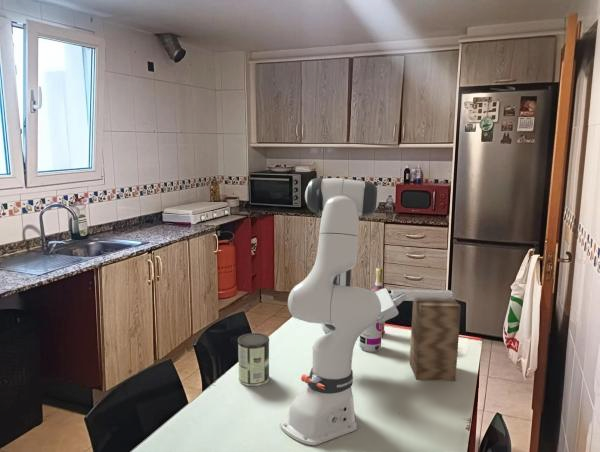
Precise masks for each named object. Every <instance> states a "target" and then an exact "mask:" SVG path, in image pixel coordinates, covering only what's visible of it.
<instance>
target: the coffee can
mask: <svg viewBox="0 0 600 452" xmlns="http://www.w3.org/2000/svg"><path fill="white" fill-rule="evenodd" d="M237 343H238V344H237V345H238V346H237V347H238V349H237V350H238V351H237V352H238V353H237V355H238V356H237V358H238V382H239V383H240V384H242V385H244V386H248V387H258V386H262V385H265V384H267V383H268V382H269V381H270V337H269V336H268V335H266V334H263V333H259V332H249V333H245V334H241V335H240V336H239V337H238V338H237Z"/></svg>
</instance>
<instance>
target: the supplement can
mask: <svg viewBox="0 0 600 452" xmlns="http://www.w3.org/2000/svg"><path fill="white" fill-rule="evenodd" d="M382 336H383V335H382V322H378V323H376V324H374V325H372V326H371V327H369V328H367V329H366V330H365V331H363V332H362V333H361V334H360V336H359V345H358V346H359V347H360V349H361V350H362V351H364V352H368V353H377V352H378V351H379V350H380V349H382Z"/></svg>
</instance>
